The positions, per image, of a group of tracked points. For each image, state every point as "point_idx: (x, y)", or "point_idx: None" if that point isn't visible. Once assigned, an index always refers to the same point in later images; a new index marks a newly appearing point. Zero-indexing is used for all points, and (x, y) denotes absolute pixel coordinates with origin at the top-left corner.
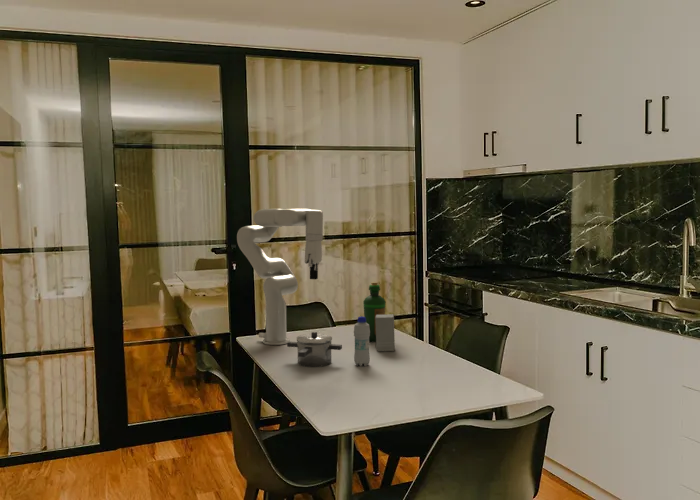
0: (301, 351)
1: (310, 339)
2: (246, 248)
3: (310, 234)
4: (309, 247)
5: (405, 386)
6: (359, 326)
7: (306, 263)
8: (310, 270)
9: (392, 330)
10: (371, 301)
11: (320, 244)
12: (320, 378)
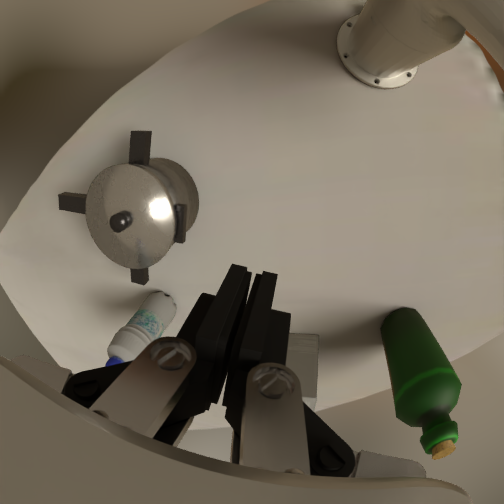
0: (63, 200)
1: (102, 212)
2: None
3: None
4: None
5: (89, 345)
6: (107, 351)
7: (10, 369)
8: (196, 341)
9: None
10: (405, 404)
11: None
12: (72, 232)
